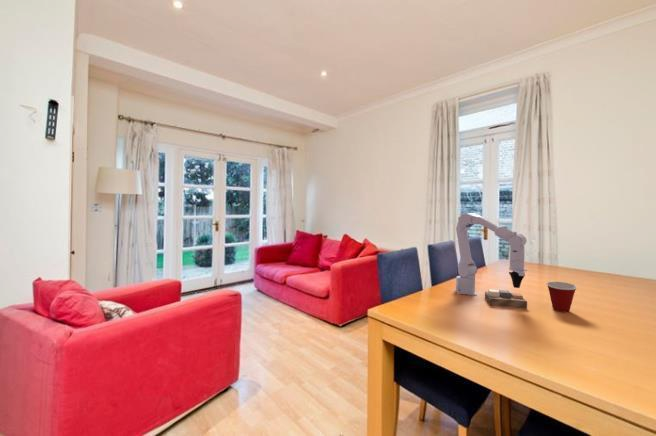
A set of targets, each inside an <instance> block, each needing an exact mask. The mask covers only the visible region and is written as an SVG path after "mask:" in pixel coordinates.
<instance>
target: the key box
mask: <svg viewBox="0 0 656 436" xmlns="http://www.w3.org/2000/svg"><path fill="white" fill-rule="evenodd" d="M484 300H485V301H486V302H487V303H488V305H489V306H493V307H501V308H502V307H503V308H511V309H524V310H527V309H528V301H527V300H526V299H525V298H524V297H523V299H516V298H512V297H511V298H504V297H500V296H499V297H493V296H489V295H488V291H485V292H484Z"/></svg>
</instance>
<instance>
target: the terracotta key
mask: <svg viewBox="0 0 656 436" xmlns="http://www.w3.org/2000/svg"><path fill="white" fill-rule="evenodd" d="M510 293H511V297H512V298H516V299H523V298H524V297H523V295H522V294H521V293H517V292H515V293H514V292H510Z"/></svg>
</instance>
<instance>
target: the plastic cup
mask: <svg viewBox="0 0 656 436" xmlns="http://www.w3.org/2000/svg"><path fill="white" fill-rule="evenodd" d="M546 286H547V289H548V291H549V297H550V302H551V307H552V310H554V311H557V312H560V313H570V311H571V306H572V304H573V299H574V297H575V293H576V290H577V288H578V286H577V285H576V284H574V283H571V282H570V283H569V282H564V281H547V282H546Z"/></svg>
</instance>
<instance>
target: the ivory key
mask: <svg viewBox="0 0 656 436" xmlns="http://www.w3.org/2000/svg"><path fill="white" fill-rule="evenodd" d="M487 292H488V295H489V296H493V297H499V296H500V292H499V290H498V289H488V290H487Z"/></svg>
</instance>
